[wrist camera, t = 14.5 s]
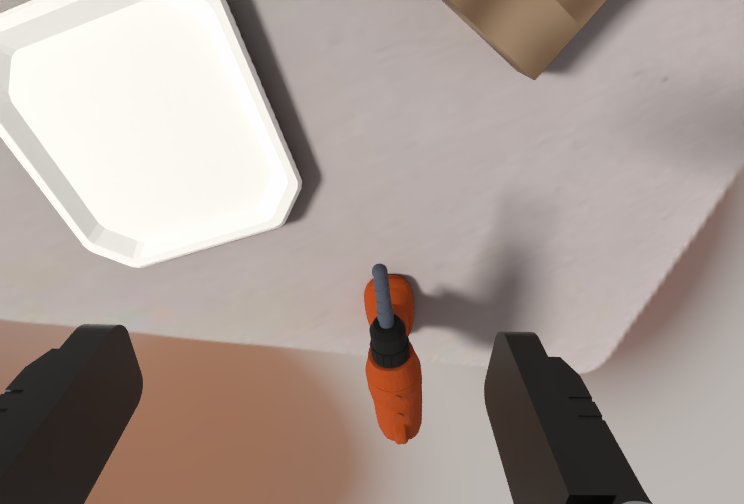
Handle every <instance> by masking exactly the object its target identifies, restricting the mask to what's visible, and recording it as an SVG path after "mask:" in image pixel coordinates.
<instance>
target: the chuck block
mask: <svg viewBox="0 0 744 504" xmlns="http://www.w3.org/2000/svg"><path fill="white" fill-rule="evenodd" d="M442 1H443V2H444V3H445V4H446V5H447V6H448V7H450V8H451V9H452V10H453V11H454V12H455V13H456V14H457V15H458V16H459V17H460V18H461V19H462V20H463V21H464V22H466V23H467V24H468V25H469V26H470V27H471V28H472V29H473V30H474V31H475V32H476V33H477V34H478V35H479V36H480V37H482V38H483V39H484V40H485V41H486V42H487V43H488V44H489V45H490V46H491V47H492V48H493V49H494V50H495V51H496V52H497V53H499V54H500V55H501V56H502V57H503V58H504V59H505V60H506V61H507V62H508V63H509V64H510V65H511V66H512V67H513V68H515V69H516V70H517V71H518V72H520V73H522V74H524V75H526V76H528V77H529V78H531V79H533V80H536V78H537V77H538V76H539V75H540V74H541V73H542V72H543V71H544V69H545V68H546V67H547V66H548V65H549V64H550V63H551V62H552V61H553V59H554V58H555V57H556V56H557V55H558V54H559V53H560V52H561V50H562V49H563V48H564V47H565V46H566V45H567V44H568V43H569V42H570V40H571V39H572V38H573V37H574V36H575V35H576V34H577V33H578V31H579V30H580V29H581V28H582V27H583V26H584V25H585V24H586V23H587V21H588V20H589V19H590V18H591V17H592V16H593V15H594V14H595V12H596V11H597V10H598V9H599V8H600V7H601V6H602V5H603V3H604V2H605V1H606V0H442Z"/></svg>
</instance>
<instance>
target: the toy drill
mask: <svg viewBox="0 0 744 504" xmlns="http://www.w3.org/2000/svg"><path fill="white" fill-rule="evenodd" d="M372 274H373V276H374V279H372V280H371V281H370V282H369V283H368V284H367V286H366V289H365V293H364V302H365V310H366V315H367V319H368V322H369V325H370V336H371V342H370V348H369V352H368V359H367V363H366V376H367V381H368V387H369V390H370V392H371V395H372V398H373V401H374V405H375V410H376V415H377V420H378V424H379V427H380V428H381V430H382V432H383V433H384V435H385V436H386V437H387V438H388V439H390V440H393V441H395V442H396V443H397V444H406V443H407V442H408V440H409V439H412V438H413V437H415V436H416V434H417V433H418V431H419V429H420V426H421V420H422V375H421V365H420V361H419V358H418V356H417V355H416V353H415V351H414V349H413V347H412V344H411V343H410V342H409V339H408V336H409V334H410V332H411V329H412V326H413V321H414V299H413V293H412V289H411V287H410V285H409V283H408V282H407V280H406V279H404V278H403V277H401V276H398V275H392V274H390V275H388V273H387V268H386V266H385V265H383V264H376V265H375V266H374V267H373V269H372Z"/></svg>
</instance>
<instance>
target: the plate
mask: <svg viewBox="0 0 744 504" xmlns="http://www.w3.org/2000/svg"><path fill="white" fill-rule="evenodd" d="M0 136H1V138H2V139H3V140H4V142H5V143H6V144H7V146H8V147H9V148H10V150H11V151H12V152H13V154H14V155H15V156H16V157H17V159H18V160H19V161H20V163H21V164H22V165H23V167H24V168H25V169H26V171H27V172H28V173H29V175H30V176H31V177H32V178H33V180H34V181H35V182H36V184H37V185H38V186H39V188H40V189H41V190H42V192H43V193H44V194H45V196H46V197H47V198H48V199H49V201H50V202H51V203H52V205H53V206H54V207H55V209H56V210H57V211H58V213H59V214H60V215H61V217H62V218H63V219H64V220H65V222H66V223H67V224H68V226H69V227H70V228H71V230H72V231H73V232H74V234H75V235H76V236H77V238H78V239H79V240H80V241H81V243H82V244H83V245H84V247H85V248H87V249H88V250H90V251H91V252H93V253H96V254H98V255H101V256H104V257H107V258H109V259H112V260H115V261H117V262H120V263H123V264H125V265H128V266H131V267H133V268H143V267H146V266H150V265H153V264H156V263H160V262H163V261H167V260H170V259H173V258H177V257H180V256H184V255H187V254H190V253H194V252H197V251H201V250H204V249H207V248H211V247H214V246H218V245H221V244H225V243H228V242H231V241H235V240H238V239H242V238H245V237H248V236H252V235H255V234H259V233H262V232H266V231H269V230H272V229H276V228H279V227H281V226H282V225H283V224H284V223H285V222H286V220H287V218H288V216H289V214H290V212H291V210H292V207H293V205H294V203H295V201H296V199H297V197H298V195H299V193H300V191H301V188H302V178H301V176H300V173H299V171H298V169H297V166H296V164H295V161H294V159H293V157H292V154H291V152H290V150H289V147H288V145H287V142H286V140H285V138H284V135H283V133H282V131H281V128H280V126H279V123H278V121H277V119H276V116H275V114H274V112H273V109H272V107H271V104H270V102H269V100H268V97H267V95H266V93H265V90H264V88H263V85H262V83H261V81H260V78H259V76H258V74H257V71H256V69H255V66H254V64H253V62H252V59H251V57H250V55H249V52H248V50H247V48H246V45H245V43H244V40H243V38H242V36H241V33H240V31H239V29H238V26H237V24H236V21H235V19H234V17H233V14H232V12H231V10H230V7H229V5H228V2H227V0H32V1H29V2H27V3H24V4H22V5H19V6H17V7H14V8H12V9H10V10H7V11H5V12H2V13H0Z"/></svg>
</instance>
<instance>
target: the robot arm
mask: <svg viewBox="0 0 744 504" xmlns="http://www.w3.org/2000/svg"><path fill="white" fill-rule="evenodd" d="M142 388H143V378H142V374H141V370H140V367H139V364H138V361H137V358H136V355H135V352H134V349H133V346H132V343H131V340H130V337H129V334H128V331H127V329H126V328H125V327H124V326H122V325H100V324H84V325H81V326H79V327H78V328H77V329H76V330H75V331H74V332H73V333H72V334H71V335H70V337H69V338H68V339H67V340H66V341H65V342H64V344H63V345H62V346H61V347H60V348H59V349H51V350H50V351H48V352H47V353H45V354H44V355H42V356H41V357H39V358H38V359H37V360H35V361H34V362H32V363H31V364H29V365H28V366H26V367H25V368H24V369H23V370H22V371H21V372H20V374H19V375H18V376H17V377H16V378H15V379H14V380H13V381H12V383H11V384H10V385H9V386H8V387H7V388H6V389H5V393H4V394H1V395H0V504H84V503H85V501H86V499H87V497H88V495H89V493H90V492H91V489H92V488H93V486H94V484H95V483H96V481H97V479H98V477H99V475H100V473H101V471H102V470H103V468H104V466H105V464H106V462H107V460H108V459H109V457H110V455H111V453H112V451H113V450H114V448H115V446H116V444H117V442H118V440H119V439H120V437H121V435H122V433H123V431H124V429H125V427H126V426H127V424H128V422H129V420H130V418H131V417H132V415H133V413H134V411H135V409H136V407H137V406H138V404H139V401H140V398H141V394H142ZM484 393H485V394H484V396H485V404H486V409H487V413H488V416H489V420H490V423H491V427H492V430H493V433H494V437H495V440H496V444H497V447H498V450H499V454H500V458H501V461H502V464H503V468H504V471H505V475H506V478H507V482H508V485H509V488H510V492H511V496H512V499H513V502H514V504H652V502H651V501H650V500H649V498H648V497H647V495H646V493H645V492H644V490H643V488H642V486H641V485H640V483H639V481H638V479H637V477H636V476H635V474H634V472H633V470H632V469H631V467H630V465H629V463H628V461H627V460H626V458H625V456H624V454H623V452H622V450H621V449H620V447H619V445H618V443H617V442H616V440H615V438H614V436H613V434H612V433H611V431H610V429H609V427H608V425H607V424H606V422H605V421H604V420H602V415H601V413H600V411H599V409H598V407H597V406H596V404H595V402H592V397H591V395H590V393H589V391H588V389H587V388H586V386H585V384H584V382H583V381H582V379H581V377H580V376H579V374H578V373H576V372H575V371H574V370H573V369H572V368H571V367H570V366H569V365H568V364H567V363H566V362H565V361H564V360H563V359H562V358H560V357H548V356H547V354H546V352H545V350H544V348H543V346H542V344H541V342H540V340H539V338H538V336H537V335H536V334H535V333H533V332H499V333H498V334H497V336H496V338H495V342H494V346H493V350H492V354H491V358H490V362H489V366H488V371H487V375H486V379H485V386H484Z"/></svg>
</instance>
